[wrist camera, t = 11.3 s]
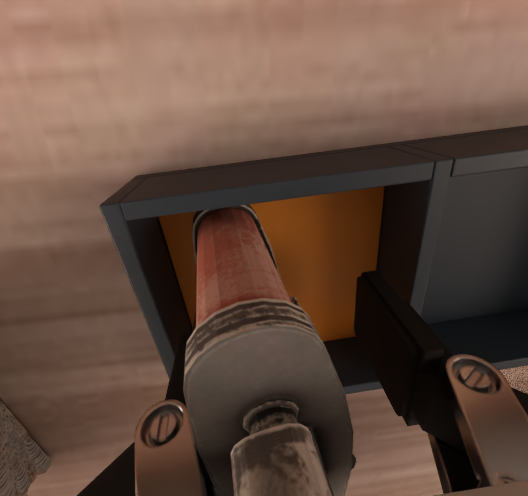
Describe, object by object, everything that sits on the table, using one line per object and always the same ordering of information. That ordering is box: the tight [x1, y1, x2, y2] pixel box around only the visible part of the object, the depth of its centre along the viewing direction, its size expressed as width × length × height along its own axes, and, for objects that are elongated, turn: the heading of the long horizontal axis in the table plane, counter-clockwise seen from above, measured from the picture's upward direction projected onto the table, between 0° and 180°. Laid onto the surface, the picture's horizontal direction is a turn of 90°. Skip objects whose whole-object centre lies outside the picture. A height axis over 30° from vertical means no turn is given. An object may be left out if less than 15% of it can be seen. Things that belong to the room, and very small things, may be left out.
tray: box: [100, 126, 528, 394], centre depth 13 cm, size 21×11×4 cm, turn 96°
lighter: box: [183, 204, 353, 496], centre depth 9 cm, size 8×3×10 cm, turn 11°
